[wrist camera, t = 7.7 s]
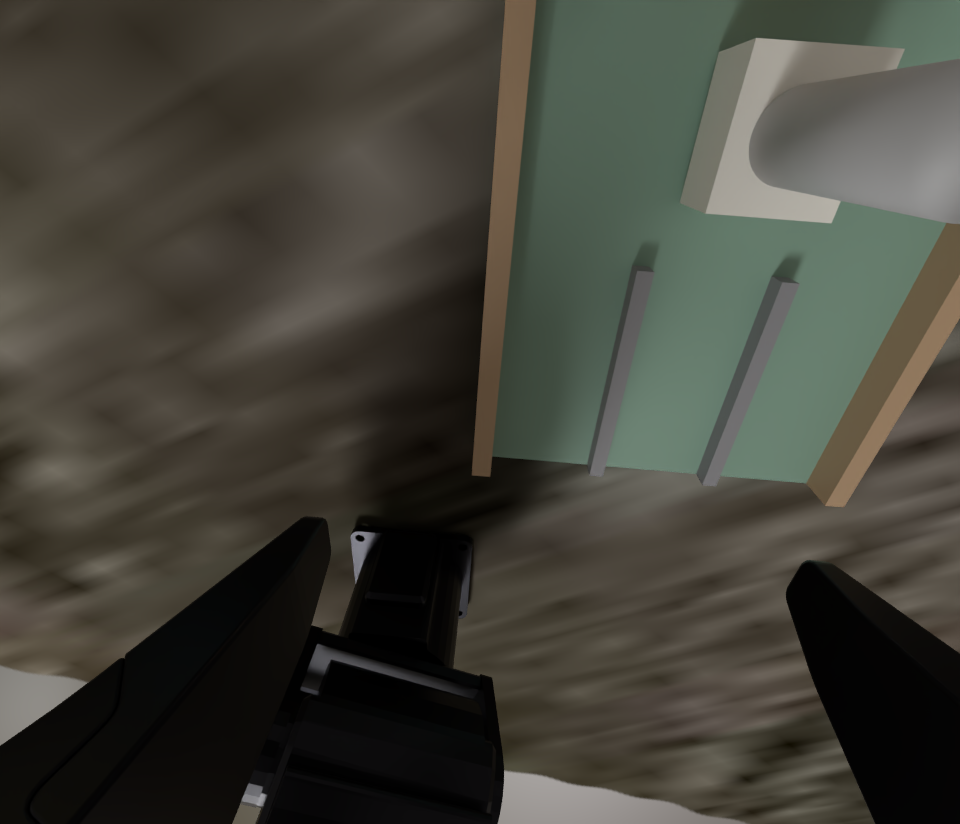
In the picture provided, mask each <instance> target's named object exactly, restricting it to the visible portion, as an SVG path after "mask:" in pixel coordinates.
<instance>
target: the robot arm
mask: <svg viewBox="0 0 960 824" xmlns="http://www.w3.org/2000/svg"><path fill="white" fill-rule="evenodd" d="M360 535H362V536H360ZM461 544H465V545H461ZM472 544H473V542H472V539H471V538H470V537H468V536H466V535H458V534H446V533H435V532H423V531H412V530H400V529H389V528H378V527H366V526H357V527H355V528H354V529H353V532H352V534H351V545H352V554H353V564H354V573H355V583H356V585H355V588H354V591H353V594H352V597H351V600H350V602H349V605H348V608H347V611H346V614H345V617H344V620H343V623H342V626H341V629H340V632H339V635H335V634H332V633H329V632H325V631H322V630H323V628H319V627H316V626H312V625H311V624H312V621H313V617H314V614H315V610H316V607H317V603H318V600H319V596H320V593H321V589H322V586H323V582H324V579H325V575H326V572H327V568H328V565H329V561H330V556H331V545H330V538H329V531H328V524H327V521H326V519H324V518H320V517H308V516H306V517H303V518H301V519H300V520H298V521H297V522H296V523H294V524H293V525H292V526H290V527H289V528H288V529H287V530H285V531H284V532H283V533H281V534H280V535H279V536H278V537H276V538H275V539H274V540H272V541H271V542H270V543H269V544H267V545H266V546H265V547H263V548H262V549H261V550H259V551H258V552H257V553H256V554H254V555H253V556H252V557H250V558H249V559H248V560H247V561H245V562H244V563H243V564H241V565H240V566H239V567H238V568H236V569H235V570H234V571H232V572H231V573H230V574H228V575H227V576H226V577H225V578H223V579H222V580H221V581H219V582H218V583H217V584H216V585H214V586H213V587H212V588H210V589H209V590H208V591H207V592H205V593H204V594H203V595H201V596H200V597H199V598H198V599H196V600H195V601H194V602H192V603H191V604H190V605H188V606H187V607H186V608H185V609H183V610H182V611H181V612H179V613H178V614H177V615H176V616H174V617H173V618H172V619H170V620H169V621H168V622H167V623H165V624H164V625H163V626H161V627H160V628H159V629H157V630H156V631H155V632H154V633H152V634H151V635H150V636H148V637H147V638H146V639H145V640H143V641H142V642H141V643H139V644H138V645H137V646H136V647H134V648H133V649H132V650H130V651H129V652H128V653H127V654H126V655H125V659H124V658H120V659H118V660H117V661H116V662H115V663H113V664H112V665H111V666H109V667H108V668H107V669H106V670H104V671H103V672H102V673H100V674H99V675H98V676H97V677H95V678H94V679H93V680H91V681H90V682H89V683H87V684H86V685H85V686H83V687H82V688H80V689H79V690H78V691H77V692H75V693H74V694H72V695H71V696H70V697H68V698H67V699H66V700H64V701H63V702H62V703H61V704H59V705H58V706H56V707H55V708H54V709H52V710H51V711H49V712H48V713H46V714H45V715H44V716H42V717H41V718H39V719H38V720H36V721H35V722H34V723H32V724H31V725H29V726H28V727H26V728H25V729H24V730H22V731H21V732H19V733H18V734H17V735H15V736H14V737H12V738H11V739H9V740H8V741H6V742H5V743H4V744H2V745H1V746H0V824H232V823H233V820H234V818H235V815H236V813H237V810H238V808H239V805H240V804H243V805H247V806H252V807H259V808H261V810H260V812H259V815H258V818H257V820H256V823H255V824H497V823H498V819H499V815H500V810H501V803H502V797H503V786H504V785H503V784H504V763H503V753H502V746H501V739H500V731H499V724H498V717H497V710H496V703H495V695H494V688H493V681H492V677H489V676H485V675H482V674H480V676H478V675H474V674H471V673H467V672H464V671H460V670H457V669H453V665H454V655H455V646H456V636H457V627H458V619H460V618H464V617H465V616H466V615H467V606H468V594H469V581H470V569H471V556H472ZM786 600H787V604H788V607H789V610H790V613H791V616H792V619H793V622H794V625H795V629H796V632H797V635H798V638H799V641H800V644H801V647H802V650H803V653H804V656H805V659H806V662H807V665H808V668H809V671H810V674H811V676H812V679H813V682H814V685H815V687H816V690H817V692H818V694H819V697H820V699H821V701H822V704H823V706H824V708H825V711H826V713H827V715H828V717H829V720H830V722H831V724H832V727H833V729H834V731H835V733H836V736H837V738H838V740H839V743H840V745H841V747H842V749H843V752H844V754H845V756H846V759H847V761H848V763H849V765H850V768H851V770H852V772H853V774H854V777H855V779H856V781H857V784H858V786H859V788H860V790H861V793H862V795H863V797H864V800H865V802H866V804H867V806H868V809H869V811H870V813H871V816H872V818H873V820H874V822H875V824H960V653H958V652H957V651H955V650H954V649H953V648H951V647H950V646H948V645H947V644H946V643H944V642H943V641H941V640H940V639H938V638H937V637H936V636H934V635H933V634H931V633H930V632H929V631H927V630H926V629H924V628H923V627H921V626H920V625H919V624H917V623H916V622H914V621H913V620H912V619H910V618H909V617H907V616H906V615H904V614H903V613H902V612H900V611H899V610H897V609H896V608H895V607H893V606H892V605H890V604H889V603H887V602H886V601H885V600H883V599H882V598H880V597H879V596H878V595H876V594H875V593H873V592H872V591H870V590H869V589H868V588H866V587H865V586H863V585H862V584H861V583H859V582H858V581H856V580H855V579H853V578H852V577H851V576H849V575H848V574H846V573H845V572H844V571H842V570H841V569H839V568H838V567H836V566H835V565H833V564H832V563H829V562H824V561H813V560H807V561H805V562H803V563H802V564H801V565H800V567H799V569H798V570H797V572H796V574H795V575H794V577H793V579H792V580H791V582H790V584H789V585H788V587H787V590H786Z"/></svg>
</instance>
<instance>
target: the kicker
mask: <svg viewBox="0 0 960 824" xmlns="http://www.w3.org/2000/svg"><path fill="white" fill-rule="evenodd" d="M904 50H905V49H902V48H889V47H875V46H861V45H847V44H833V43H820V42H806V41H792V40H778V39H765V38H755V39H752V40H749V41H747V42H744V43H742V44H739V45H736V46H734V47H731V48H728V49H726V50H723V51H721V52H719V53H718V57H717V61H716V65H715V69H714V73H713V76H712V80H711V84H710V88H709V92H708V96H707V99H706V103H705V107H704V111H703V115H702V119H701V123H700V126H699V130H698V134H697V138H696V142H695V146H694V149H693V153H692V157H691V161H690V165H689V169H688V172H687V176H686V180H685V184H684V188H683V192H682V196H681V199H680V203H681V204H684V205H686V206H688V207H691V208H693V209H696V210H698V211H700V212H703V213H705V214H717V215H730V216H743V217H756V218H768V219H781V220H794V221H807V222H820V223H832V221H833V218H834V216H835V214H836V211H837V209H838V207H839V204H840V202H841V201H843V202H848V203H853V204H858V205H863V206H867V207H872V208H877V209H882V210H887V211H891V212H896V213H901V214H906V215H911V216H915V217H920V218H925V219H930V220H935V221H939V222H944V223H951V224H960V59H955V60H949V61H942V62H936V63H930V64H924V65H918V66H912V67H906V68H900V69H897V67H898V64H899V62H900V59H901V57H902V55H903V52H904Z"/></svg>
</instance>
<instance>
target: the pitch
mask: <svg viewBox="0 0 960 824" xmlns="http://www.w3.org/2000/svg"><path fill="white" fill-rule="evenodd" d="M755 38H765V39H778V40H792V41H806V42H820V43H833V44H847V45H861V46H875V47H889V48H902V49H905V50H904V52H903V55H902V57H901V59H900V62H899V64H898V67H897V69H900V68H906V67H912V66H918V65H924V64H930V63H936V62H942V61H949V60H955V59H960V0H505V14H504V29H503V43H502V57H501V71H500V85H499V99H498V113H497V127H496V141H495V155H494V169H493V183H492V197H491V211H490V226H489V240H488V254H487V268H486V282H485V296H484V310H483V324H482V338H481V352H480V366H479V380H478V394H477V408H476V422H475V437H474V451H473V465H472V475H475V476H486V477H490V473H491V463H492V456H493V457H505V458H517V459H528V460H540V461H552V462H564V463H575V464H587V467H588V471H589V475H591V476H602V477H603V475H604V471H605V467H606V466H610V467H622V468H634V469H646V470H657V471H669V472H681V473H693V474H697V476H698V478H699V480H700V482H701V483H702V485H707V486H716V485H717V483H718V480H719V478H720V476H728V477H739V478H751V479H763V480H775V481H786V482H798V483H806V484H807V485H808V486H809V487H810V488H811V489H812V491H813V492H814V493H815V494H816V495H817V497H818V498H819V499H820V500H821V501H822V502H823V504H824V505H825V506H836V507H844V506H845V505H846V503H847V501H848V500H849V498H850V496H851V495H852V493H853V492H854V490H855V488H856V487H857V485H858V483H859V482H860V480H861V478H862V477H863V475H864V474H865V472H866V470H867V469H868V467H869V465H870V464H871V462H872V461H873V459H874V457H875V456H876V454H877V452H878V451H879V449H880V447H881V446H882V444H883V443H884V441H885V439H886V438H887V436H888V434H889V433H890V431H891V430H892V428H893V426H894V425H895V423H896V421H897V420H898V418H899V416H900V415H901V413H902V412H903V410H904V408H905V407H906V405H907V403H908V402H909V400H910V398H911V397H912V395H913V394H914V392H915V390H916V389H917V387H918V385H919V384H920V382H921V381H922V379H923V377H924V376H925V374H926V372H927V371H928V369H929V367H930V366H931V364H932V363H933V361H934V359H935V358H936V356H937V354H938V353H939V351H940V350H941V348H942V346H943V345H944V343H945V341H946V340H947V338H948V336H949V335H950V333H951V332H952V330H953V328H954V327H955V325H956V323H957V322H958V320H959V318H960V224H951V223H944V222H939V221H935V220H930V219H925V218H920V217H915V216H911V215H906V214H901V213H896V212H891V211H887V210H882V209H877V208H872V207H867V206H863V205H858V204H853V203H848V202H843V201H841V202H840V204H839V207H838V209H837V211H836V214H835V216H834V218H833V221H832V223H820V222H807V221H794V220H781V219H768V218H756V217H743V216H730V215H717V214H705V213H703V212H700V211H698V210H696V209H693V208H691V207H688V206H686V205H684V204H681V203H680V199H681V196H682V192H683V188H684V184H685V180H686V176H687V172H688V169H689V165H690V161H691V157H692V153H693V149H694V146H695V142H696V138H697V134H698V130H699V126H700V123H701V119H702V115H703V111H704V107H705V103H706V99H707V96H708V92H709V88H710V84H711V80H712V76H713V73H714V69H715V65H716V61H717V57H718V53H719V52H721V51H723V50H726V49H728V48H731V47H734V46H736V45H739V44H742V43H744V42H747V41H749V40H752V39H755Z"/></svg>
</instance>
